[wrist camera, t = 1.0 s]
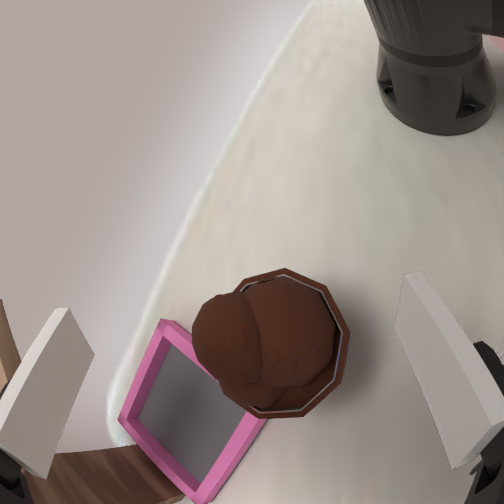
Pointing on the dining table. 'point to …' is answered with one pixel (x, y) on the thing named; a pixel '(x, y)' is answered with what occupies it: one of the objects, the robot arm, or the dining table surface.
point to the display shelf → (91, 462)
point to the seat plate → (186, 417)
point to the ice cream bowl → (273, 344)
